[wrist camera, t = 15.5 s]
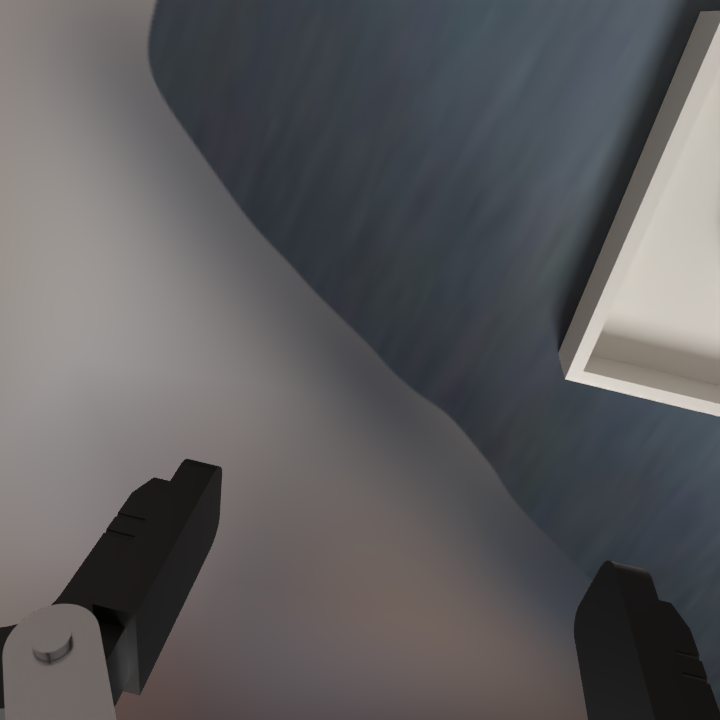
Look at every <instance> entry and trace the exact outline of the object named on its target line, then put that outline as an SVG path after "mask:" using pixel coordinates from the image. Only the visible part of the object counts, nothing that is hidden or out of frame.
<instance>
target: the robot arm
mask: <svg viewBox="0 0 720 720" xmlns="http://www.w3.org/2000/svg"><path fill="white" fill-rule="evenodd" d="M221 483H222V469H221V467H219V466H215V465H210V464H207V463H202V462H198V461H194V460H190V459H185V460H184V461H183V462H182V463H181V465H180V467H179V468H178V470H177V471H176V473H175V475H174V476H173V478H172V479H171V481H167V480H163V479H158V478H153V479H151V480H150V481H148V482H147V483H145V484H144V485H142V486H141V487H139V488H138V489H137V490H135V491H134V492H132V494H131V495H130V496H129V498H128V499H127V501H126V502H125V504H124V505H123V507H122V508H121V509H120V511H119V512H118V515H117V517H115V518H114V519H113V521H112V522H111V524H110V525H109V527H108V528H107V531H106V533H103V535H102V537H101V538H100V540H99V541H98V542H97V544H96V545H95V547H94V548H93V549H92V551H91V552H90V554H89V555H88V556H87V558H86V559H85V561H84V562H83V563H82V565H81V566H80V568H79V569H78V571H77V572H76V573H75V575H74V576H73V578H72V579H71V581H70V582H69V583H68V585H67V586H66V588H65V589H64V591H63V592H62V594H61V595H60V596H59V597H58V599H57V600H56V601H55V602H54V603H53V604H52V605H51V606H48V607H45V608H42V609H40V610H38V611H35V612H33V613H32V614H30V615H29V616H27V617H26V618H24V619H23V620H22V621H21V622H20V623H19V624H16V625H12V626H8V627H2V628H0V720H116V715H115V710H114V707H115V705H116V704H117V702H118V700H119V697H120V696H121V694H122V692H123V691H125V692H129V693H133V694H137V695H140V694H141V692H142V690H143V688H144V686H145V684H146V682H147V679H148V677H149V675H150V673H151V671H152V669H153V667H154V665H155V663H156V661H157V659H158V657H159V655H160V652H161V651H162V648H163V646H164V644H165V642H166V640H167V638H168V636H169V634H170V632H171V630H172V627H173V625H174V623H175V621H176V619H177V617H178V615H179V613H180V611H181V609H182V607H183V605H184V603H185V601H186V599H187V596H188V594H189V592H190V590H191V588H192V586H193V584H194V582H195V580H196V578H197V576H198V574H199V572H200V569H201V567H202V565H203V563H204V561H205V559H206V557H207V555H208V553H209V551H210V549H211V546H212V544H213V542H214V539H215V536H216V532H217V528H218V524H219V517H220V501H221ZM574 638H575V644H576V650H577V656H578V662H579V668H580V674H581V680H582V686H583V692H584V697H585V704H586V710H587V716H588V720H720V711H719V709H718V706H717V703H716V700H715V697H714V695H713V692H712V689H711V686H710V684H708V683H707V679H708V678H707V675H706V672H705V670H704V667H703V664H702V661H699V653H698V650H697V647H696V644H695V642H694V639H693V636H692V633H691V630H690V628H689V627H688V626H687V624H686V623H685V621H684V620H683V619H682V617H681V616H680V615H679V613H678V612H677V611H676V609H675V608H674V606H673V605H672V604H671V603H669V602H665V601H660V600H659V599H658V596H657V593H656V589H655V586H654V583H653V580H652V577H651V575H650V573H649V572H648V571H647V570H646V569H643V568H638V567H634V566H630V565H626V564H622V563H617V562H613V561H609V560H608V561H605V562H604V563H603V564H602V566H601V567H600V569H599V571H598V572H597V574H596V576H595V578H594V579H593V581H592V583H591V585H590V587H589V588H588V590H587V592H586V594H585V595H584V597H583V599H582V601H581V602H580V604H579V606H578V609H577V612H576V616H575V622H574Z"/></svg>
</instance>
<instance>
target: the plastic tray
mask: <svg viewBox="0 0 720 720" xmlns="http://www.w3.org/2000/svg"><path fill="white" fill-rule="evenodd" d="M558 354H559V358H560V362H561V366H562V370H563V374H564V378H565V379H566V380H570V381H575V382H579V383H583V384H587V385H591V386H595V387H599V388H604V389H608V390H612V391H616V392H620V393H624V394H628V395H633V396H637V397H641V398H645V399H649V400H653V401H657V402H662V403H666V404H670V405H674V406H678V407H682V408H686V409H691V410H695V411H699V412H703V413H707V414H711V415H715V416H720V11H700V14H699V16H698V19H697V21H696V23H695V26H694V28H693V31H692V33H691V35H690V38H689V40H688V43H687V45H686V47H685V50H684V52H683V55H682V57H681V59H680V62H679V64H678V67H677V69H676V71H675V74H674V76H673V79H672V81H671V83H670V86H669V88H668V91H667V93H666V95H665V98H664V100H663V103H662V105H661V107H660V110H659V112H658V115H657V117H656V119H655V122H654V124H653V127H652V129H651V131H650V134H649V136H648V139H647V141H646V144H645V146H644V148H643V151H642V153H641V156H640V158H639V160H638V163H637V165H636V168H635V170H634V172H633V175H632V177H631V180H630V182H629V184H628V187H627V189H626V192H625V194H624V196H623V199H622V201H621V204H620V206H619V208H618V211H617V213H616V216H615V218H614V220H613V223H612V225H611V228H610V230H609V232H608V235H607V237H606V240H605V242H604V244H603V247H602V249H601V252H600V254H599V256H598V259H597V261H596V264H595V266H594V268H593V271H592V273H591V276H590V278H589V280H588V283H587V285H586V288H585V290H584V292H583V295H582V297H581V300H580V302H579V304H578V307H577V309H576V312H575V314H574V316H573V319H572V321H571V324H570V326H569V328H568V331H567V333H566V336H565V338H564V340H563V343H562V345H561V348H560V350H559V352H558Z"/></svg>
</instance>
